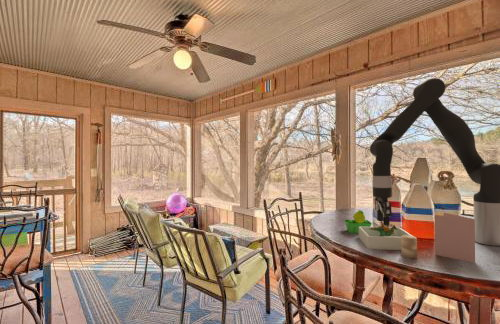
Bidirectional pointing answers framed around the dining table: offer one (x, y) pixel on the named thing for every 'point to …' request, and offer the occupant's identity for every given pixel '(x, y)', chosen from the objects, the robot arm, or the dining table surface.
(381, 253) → the dining table surface
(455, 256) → the greeting card
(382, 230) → the green branched piece
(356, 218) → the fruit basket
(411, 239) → the maple cylinder
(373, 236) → the tray
